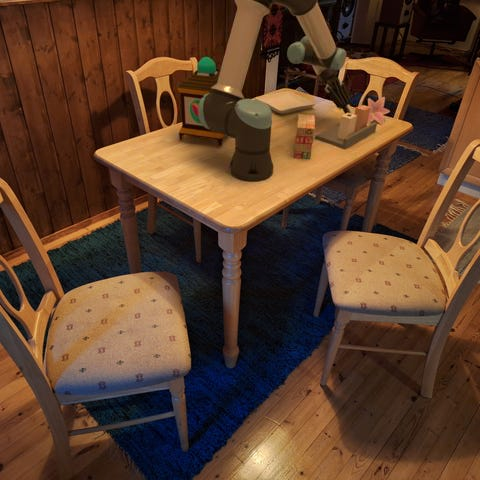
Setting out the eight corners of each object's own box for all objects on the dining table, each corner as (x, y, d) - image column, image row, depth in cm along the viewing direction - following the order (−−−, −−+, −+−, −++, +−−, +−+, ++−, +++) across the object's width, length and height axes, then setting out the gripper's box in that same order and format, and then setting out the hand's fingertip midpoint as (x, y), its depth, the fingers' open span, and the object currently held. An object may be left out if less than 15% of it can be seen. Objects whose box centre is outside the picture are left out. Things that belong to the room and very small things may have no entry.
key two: (360, 132, 171) (364, 109, 165) (351, 129, 173) (355, 107, 168) (366, 128, 174) (370, 106, 168) (357, 126, 176) (362, 104, 170)
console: (345, 149, 161) (346, 139, 159) (315, 138, 169) (316, 129, 166) (375, 132, 176) (377, 122, 173) (346, 122, 183) (347, 114, 181)
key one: (346, 141, 163) (350, 117, 158) (337, 138, 166) (341, 115, 160) (352, 137, 166) (357, 114, 161) (344, 134, 169) (348, 111, 163)
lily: (353, 122, 187) (360, 107, 178) (363, 105, 191) (371, 90, 183) (376, 135, 185) (385, 120, 177) (387, 117, 190) (396, 103, 181)
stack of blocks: (296, 135, 171) (299, 105, 164) (311, 136, 171) (315, 107, 163) (293, 158, 154) (296, 126, 147) (310, 160, 154) (314, 128, 146)
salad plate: (287, 96, 210) (288, 90, 208) (315, 110, 196) (316, 102, 194) (253, 104, 201) (253, 96, 199) (280, 118, 187) (280, 110, 185)
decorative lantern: (238, 131, 173) (240, 53, 156) (223, 149, 158) (223, 66, 140) (194, 124, 178) (191, 48, 160) (174, 141, 162) (169, 60, 145)
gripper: (327, 72, 179) (354, 120, 181) (310, 78, 171) (338, 128, 173) (340, 61, 173) (368, 111, 175) (323, 67, 165) (352, 119, 167)
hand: (353, 120), depth 174 cm, fingers closed
